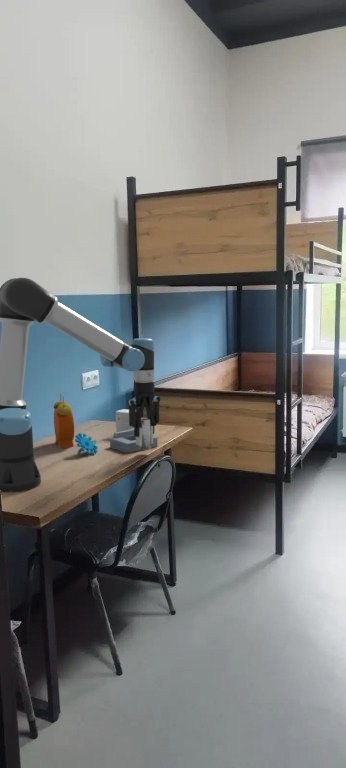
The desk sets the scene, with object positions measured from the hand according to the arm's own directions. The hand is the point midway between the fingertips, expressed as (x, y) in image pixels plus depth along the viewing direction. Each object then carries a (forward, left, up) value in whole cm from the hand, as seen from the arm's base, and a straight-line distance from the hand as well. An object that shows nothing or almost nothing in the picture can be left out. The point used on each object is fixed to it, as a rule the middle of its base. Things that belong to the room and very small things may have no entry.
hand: (144, 443), depth 216 cm
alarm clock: (-14, +34, -4) cm, 37 cm away
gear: (-15, +16, -4) cm, 22 cm away
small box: (+13, +29, -4) cm, 32 cm away
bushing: (0, 0, -2) cm, 2 cm away
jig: (+4, +12, -4) cm, 13 cm away
